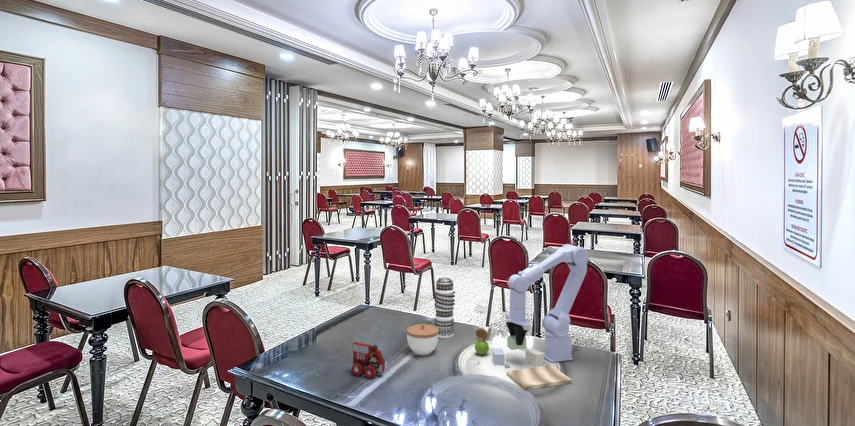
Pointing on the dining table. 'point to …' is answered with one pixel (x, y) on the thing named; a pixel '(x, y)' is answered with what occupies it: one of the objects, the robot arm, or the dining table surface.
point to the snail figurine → (482, 340)
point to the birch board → (538, 377)
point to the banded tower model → (444, 307)
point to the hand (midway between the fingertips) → (516, 342)
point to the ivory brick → (534, 356)
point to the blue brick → (498, 356)
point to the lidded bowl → (422, 338)
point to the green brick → (513, 345)
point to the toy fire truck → (367, 360)
